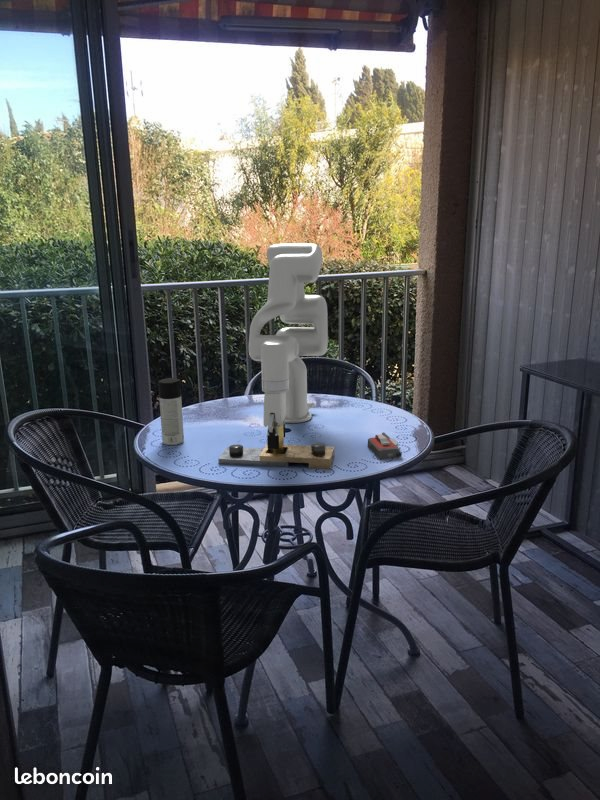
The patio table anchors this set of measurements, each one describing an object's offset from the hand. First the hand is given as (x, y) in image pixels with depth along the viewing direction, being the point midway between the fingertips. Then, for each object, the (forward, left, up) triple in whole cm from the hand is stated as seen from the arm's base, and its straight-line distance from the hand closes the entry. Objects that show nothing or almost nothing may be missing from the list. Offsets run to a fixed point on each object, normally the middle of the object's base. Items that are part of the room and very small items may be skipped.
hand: (276, 442), depth 190 cm
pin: (0, 0, -5) cm, 5 cm away
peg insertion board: (0, 0, -5) cm, 5 cm away
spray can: (+8, -36, -6) cm, 37 cm away
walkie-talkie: (-27, +19, -6) cm, 34 cm away
